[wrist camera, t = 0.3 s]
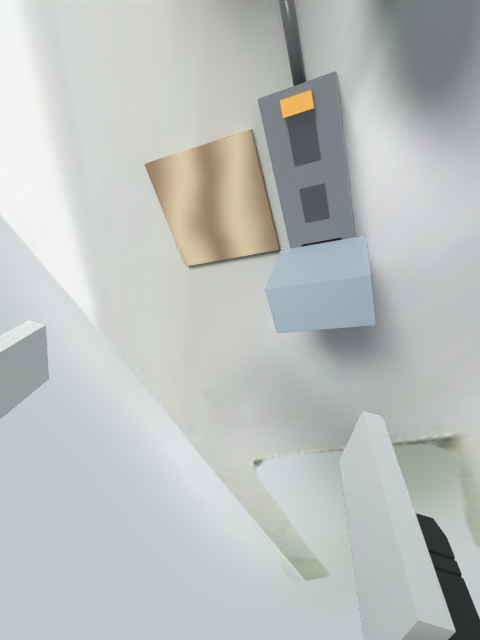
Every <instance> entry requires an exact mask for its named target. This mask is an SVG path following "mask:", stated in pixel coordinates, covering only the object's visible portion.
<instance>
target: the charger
mask: <svg viewBox="0 0 480 640" xmlns="http://www.w3.org/2000/svg"><path fill="white" fill-rule="evenodd" d="M265 291H266V295H267V298H268V302H269V306H270V309H271V313H272V316H273V320H274V323H275V327H276V331H277V333H286V332H298V331H310V330H322V329H334V328H347V327H359V326H371V325H376V323H375V312H374V302H373V291H372V281H371V271H370V263H369V255H368V247H367V239H366V235H365V236H359V237H354V238H348V239H342V240H339V238H336V239H331V240H325V241H319V242H314V243H308V244H307V246H303V247H297V248H291V249H285V250H281V251H280V253H279V256H278V258H277V261H276V263H275V266H274V268H273V271H272V273H271V276H270V278H269V281H268V283H267V286H266V288H265Z"/></svg>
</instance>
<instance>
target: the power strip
mask: <svg viewBox="0 0 480 640" xmlns="http://www.w3.org/2000/svg"><path fill="white" fill-rule="evenodd" d="M279 2H280V8H281V14H282V19H283V25H284V31H285V37H286V43H287V49H288V55H289V61H290V66H291V72H292V78H293V84H294V86H293V87H290V88H288V89H285V90H282V91H279V92H276V93H274V94H271V95H268V96H265V97H262V98H260V99H258V103H259V108H260V112H261V117H262V121H263V126H264V130H265V135H266V139H267V144H268V148H269V153H270V158H271V162H272V167H273V171H274V176H275V180H276V185H277V189H278V194H279V199H280V203H281V208H282V212H283V217H284V221H285V226H286V230H287V235H288V240H289V244H290V249H291V248H297V247H303V246H307V244H308V243H314V242H319V241H325V240H331V239H336V238H339V240H342V239H348V238H354V237H355V229H354V220H353V212H352V203H351V194H350V185H349V176H348V168H347V159H346V150H345V141H344V132H343V124H342V115H341V106H340V97H339V88H338V79H337V73H336V72H332V73H330V74H327V75H324V76H321V77H318V78H316V79H313V80H310V81H307V82H306V81H305V74H304V68H303V61H302V55H301V49H300V42H299V36H298V29H297V23H296V16H295V10H294V3H293V0H279Z"/></svg>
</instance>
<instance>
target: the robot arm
mask: <svg viewBox="0 0 480 640" xmlns="http://www.w3.org/2000/svg"><path fill="white" fill-rule="evenodd" d="M48 379H49V375H48V358H47V338H46V325H44V324H40V323H37V322H33V321H29V320H28V321H26V322H24V323H22V324H21V325H19V326H17V327H15V328H14V329H11V330H10V331H8V332H6V333H4V334H2V335H0V419H1V418H2V417H3V416H4V415H6V414H7V413H8V412H9V411H11V410H12V409H13V408H14V407H15V406H17V405H18V404H19V403H20V402H22V401H23V400H24V399H25V398H26V397H28V396H29V395H30V394H31V393H32V392H33V391H35V390H36V389H37V388H38V387H40V386H41V385H42V384H43V383H44V382H46V381H47V380H48ZM339 464H340V471H341V479H342V486H343V493H344V500H345V508H346V515H347V522H348V529H349V537H350V544H351V551H352V559H353V566H354V573H355V580H356V588H357V595H358V602H359V610H360V617H361V623H362V631H363V639H364V640H480V619H479V616H478V614H477V611H476V609H475V606H474V604H473V601H472V599H471V596H470V594H469V591H468V589H467V586H466V584H465V582H464V579H463V578H461V575H462V574H461V572H460V569H459V567H458V564H457V562H456V561H455V560H454V558H455V557H454V554H453V552H452V549H451V547H450V544H449V542H448V539H447V537H446V536H445V534H444V533H443V532H442V530H441V529H440V527H439V526H438V525H437V523H436V522H435V521H434V519H433V518H430V517H427V516H423V515H420V514H416V513H415V510H414V508H413V505H412V502H411V499H410V496H409V493H408V491H407V487H406V484H405V481H404V478H403V475H402V472H401V469H400V466H399V464H398V461H397V458H396V455H395V452H394V449H393V446H392V443H391V440H390V437H389V434H388V431H387V428H386V425H385V422H384V420H383V417H382V416H380V415H376V414H372V413H369V412H365V411H362V413H361V415H360V418H359V420H358V422H357V424H356V426H355V428H354V430H353V432H352V435H351V437H350V439H349V441H348V443H347V445H346V447H345V449H344V452H343V454H342V456H341V458H340V460H339Z"/></svg>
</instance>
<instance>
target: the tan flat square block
mask: <svg viewBox="0 0 480 640" xmlns="http://www.w3.org/2000/svg"><path fill="white" fill-rule="evenodd" d="M145 167H146V169H147V172H148V174H149V177H150V179H151V182H152V184H153V187H154V189H155V192H156V194H157V197H158V199H159V202H160V204H161V207H162V209H163V212H164V214H165V217H166V219H167V222H168V224H169V227H170V229H171V232H172V234H173V237H174V239H175V242H176V244H177V247H178V249H179V252H180V254H181V257H182V259H183V262H184V264H185V266H190V265H196V264H202V263H207V262H213V261H219V260H224V259H230V258H236V257H241V256H247V255H253V254H258V253H264V252H270V251H275V250H279V249H280V246H279V241H278V237H277V233H276V229H275V224H274V220H273V216H272V212H271V208H270V203H269V199H268V195H267V191H266V186H265V182H264V178H263V174H262V169H261V165H260V161H259V157H258V153H257V148H256V144H255V140H254V136H253V131H252V129H251V130H248V131H245V132H242V133H239V134H236V135H233V136H230V137H227V138H223V139H220V140H217V141H214V142H211V143H208V144H205V145H202V146H199V147H196V148H193V149H190V150H186V151H183V152H180V153H177V154H174V155H171V156H168V157H165V158H162V159H159V160H156V161H152V162H149V163H146V164H145Z"/></svg>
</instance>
